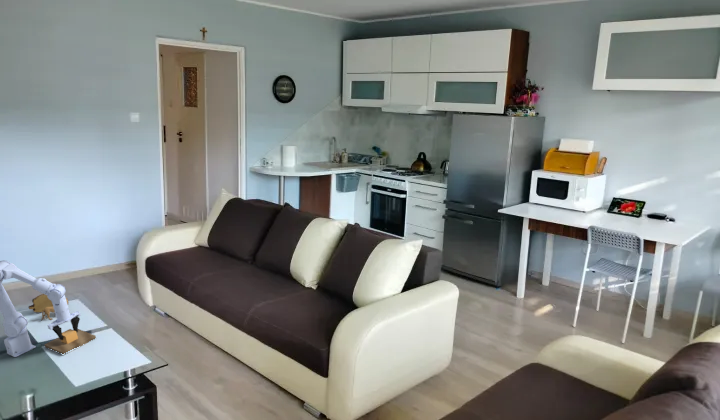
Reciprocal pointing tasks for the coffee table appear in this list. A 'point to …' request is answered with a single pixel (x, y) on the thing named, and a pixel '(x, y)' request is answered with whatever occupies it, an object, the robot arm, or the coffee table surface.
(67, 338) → the tan rounded cube
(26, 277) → the robot arm
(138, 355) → the coffee table surface
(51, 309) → the lion figurine
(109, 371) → the coffee table surface
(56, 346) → the walnut board
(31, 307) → the wooden carving
